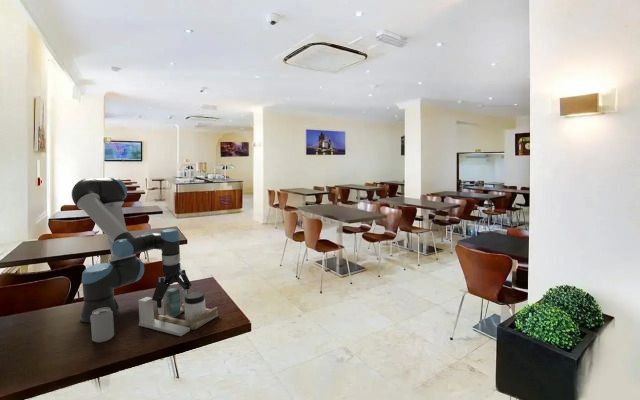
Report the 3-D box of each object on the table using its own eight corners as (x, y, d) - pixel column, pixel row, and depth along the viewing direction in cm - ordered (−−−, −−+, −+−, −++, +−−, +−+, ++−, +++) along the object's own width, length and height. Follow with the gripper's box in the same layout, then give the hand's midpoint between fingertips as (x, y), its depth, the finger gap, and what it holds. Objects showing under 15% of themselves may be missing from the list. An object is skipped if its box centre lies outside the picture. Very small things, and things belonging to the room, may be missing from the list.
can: (97, 345, 127) (95, 316, 126) (88, 340, 131) (86, 311, 130) (118, 337, 134) (116, 308, 132) (108, 332, 138) (106, 304, 136)
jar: (187, 327, 142) (185, 300, 141) (183, 319, 149) (182, 294, 147) (208, 321, 147) (207, 295, 146) (203, 314, 153) (202, 290, 152)
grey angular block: (138, 325, 143) (137, 300, 142) (148, 320, 147) (147, 296, 146) (180, 336, 133) (179, 309, 132) (189, 330, 138) (188, 304, 137)
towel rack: (157, 320, 147) (156, 294, 146) (182, 308, 160) (181, 284, 159) (194, 329, 138) (193, 302, 137) (218, 315, 152) (217, 290, 151)
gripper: (154, 272, 137) (156, 320, 139) (197, 257, 160) (199, 299, 162) (141, 270, 140) (144, 317, 142) (185, 255, 163) (187, 296, 165)
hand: (173, 308), depth 152 cm, fingers open, 13 cm apart
